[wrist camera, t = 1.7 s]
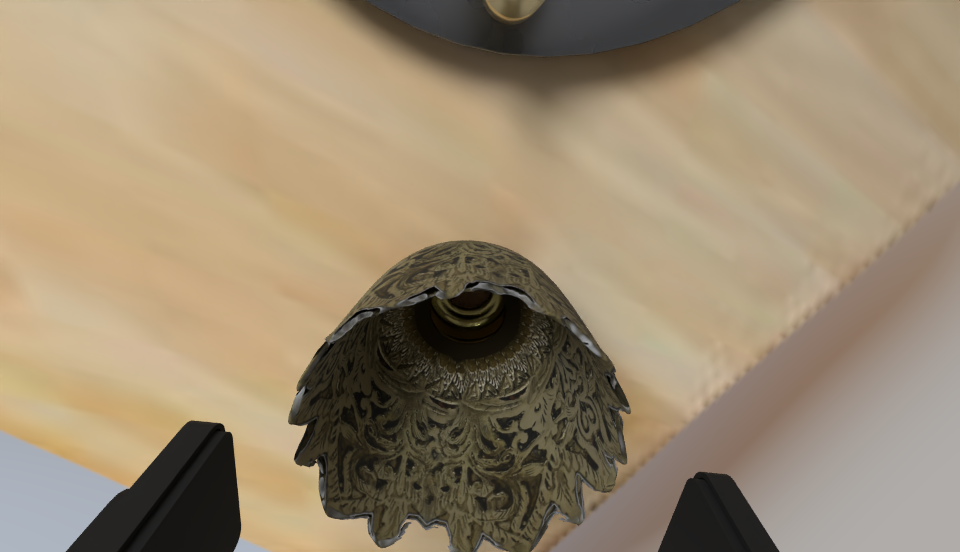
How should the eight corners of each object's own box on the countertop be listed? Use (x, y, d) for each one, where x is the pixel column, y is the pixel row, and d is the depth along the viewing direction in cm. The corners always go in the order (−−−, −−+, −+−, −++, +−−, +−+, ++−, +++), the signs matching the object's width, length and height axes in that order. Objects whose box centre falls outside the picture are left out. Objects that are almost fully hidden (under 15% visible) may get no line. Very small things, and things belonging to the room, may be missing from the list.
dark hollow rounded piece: (600, 227, 16) (698, 356, 9) (529, 389, 19) (560, 587, 12) (393, 164, 15) (315, 251, 8) (352, 344, 18) (266, 528, 11)
